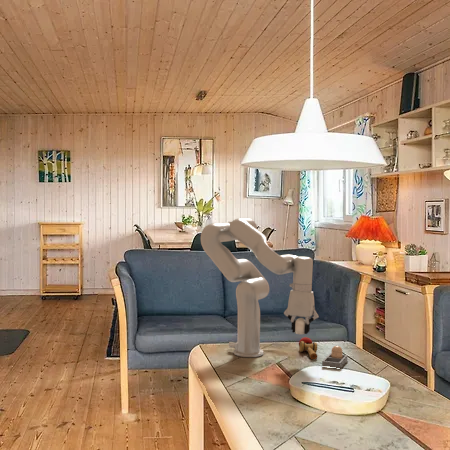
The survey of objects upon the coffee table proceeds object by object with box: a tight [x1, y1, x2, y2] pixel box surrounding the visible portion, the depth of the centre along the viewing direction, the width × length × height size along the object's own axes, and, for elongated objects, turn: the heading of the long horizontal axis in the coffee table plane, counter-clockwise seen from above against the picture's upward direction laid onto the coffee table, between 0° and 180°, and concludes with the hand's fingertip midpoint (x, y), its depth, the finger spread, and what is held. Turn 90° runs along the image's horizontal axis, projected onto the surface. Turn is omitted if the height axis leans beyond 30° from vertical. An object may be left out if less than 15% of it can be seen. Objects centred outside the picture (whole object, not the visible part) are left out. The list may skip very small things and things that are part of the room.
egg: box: [294, 317, 306, 336], centre depth 244 cm, size 4×4×6 cm
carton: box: [321, 345, 348, 369], centre depth 242 cm, size 7×13×7 cm, turn 156°
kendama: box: [298, 336, 318, 361], centre depth 257 cm, size 8×6×18 cm
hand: (300, 332), depth 244 cm, fingers closed on egg, 4 cm apart
